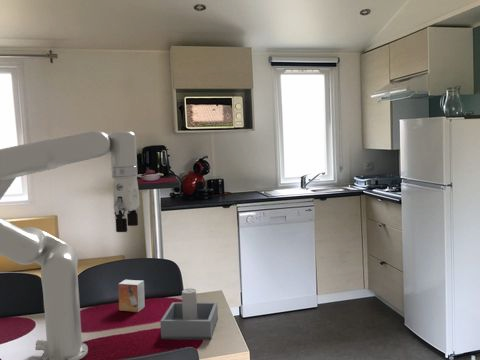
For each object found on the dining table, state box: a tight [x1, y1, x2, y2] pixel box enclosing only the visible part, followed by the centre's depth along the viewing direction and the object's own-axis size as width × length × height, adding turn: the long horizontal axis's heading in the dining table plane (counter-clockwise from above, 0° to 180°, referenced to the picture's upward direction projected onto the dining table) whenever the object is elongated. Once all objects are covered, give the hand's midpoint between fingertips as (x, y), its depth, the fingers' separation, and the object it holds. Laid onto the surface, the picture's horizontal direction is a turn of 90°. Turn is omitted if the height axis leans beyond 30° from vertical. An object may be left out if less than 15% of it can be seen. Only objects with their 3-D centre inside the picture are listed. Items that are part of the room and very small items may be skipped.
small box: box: [117, 279, 146, 313], centre depth 161 cm, size 8×6×10 cm
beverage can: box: [181, 288, 198, 320], centre depth 141 cm, size 5×5×12 cm
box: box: [159, 301, 219, 341], centre depth 142 cm, size 16×16×6 cm
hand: (127, 228), depth 129 cm, fingers open, 9 cm apart
